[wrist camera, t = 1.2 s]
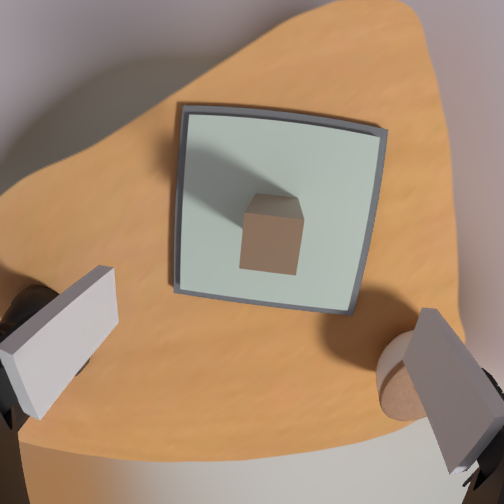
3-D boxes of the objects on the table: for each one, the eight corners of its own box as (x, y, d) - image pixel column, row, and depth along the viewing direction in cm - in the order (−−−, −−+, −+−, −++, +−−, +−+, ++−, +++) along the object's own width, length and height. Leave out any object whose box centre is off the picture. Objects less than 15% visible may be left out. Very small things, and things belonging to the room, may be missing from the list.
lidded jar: (385, 308, 34) (411, 355, 25) (455, 319, 34) (488, 362, 25) (355, 378, 38) (367, 430, 29) (421, 383, 37) (442, 430, 28)
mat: (176, 288, 36) (173, 292, 35) (185, 106, 29) (182, 105, 28) (351, 311, 34) (352, 315, 34) (385, 130, 28) (388, 129, 27)
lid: (182, 286, 34) (149, 334, 25) (191, 115, 28) (152, 103, 19) (346, 306, 33) (364, 362, 24) (377, 137, 27) (417, 135, 18)
